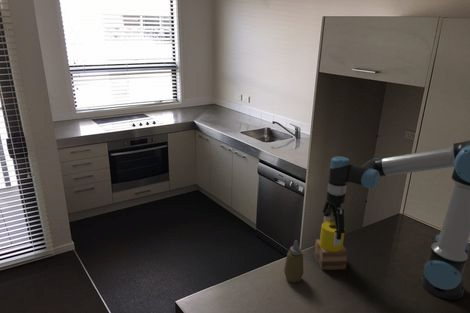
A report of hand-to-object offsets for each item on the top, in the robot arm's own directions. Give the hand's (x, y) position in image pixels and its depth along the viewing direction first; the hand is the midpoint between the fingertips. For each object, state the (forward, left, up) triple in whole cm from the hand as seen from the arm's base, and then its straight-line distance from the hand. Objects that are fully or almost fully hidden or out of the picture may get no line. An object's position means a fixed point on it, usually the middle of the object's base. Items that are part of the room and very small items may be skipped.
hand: (331, 236), depth 160 cm
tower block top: (0, -1, -9) cm, 9 cm away
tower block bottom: (0, -1, -14) cm, 14 cm away
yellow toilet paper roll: (0, 0, -5) cm, 5 cm away
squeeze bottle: (-10, +19, -13) cm, 26 cm away
